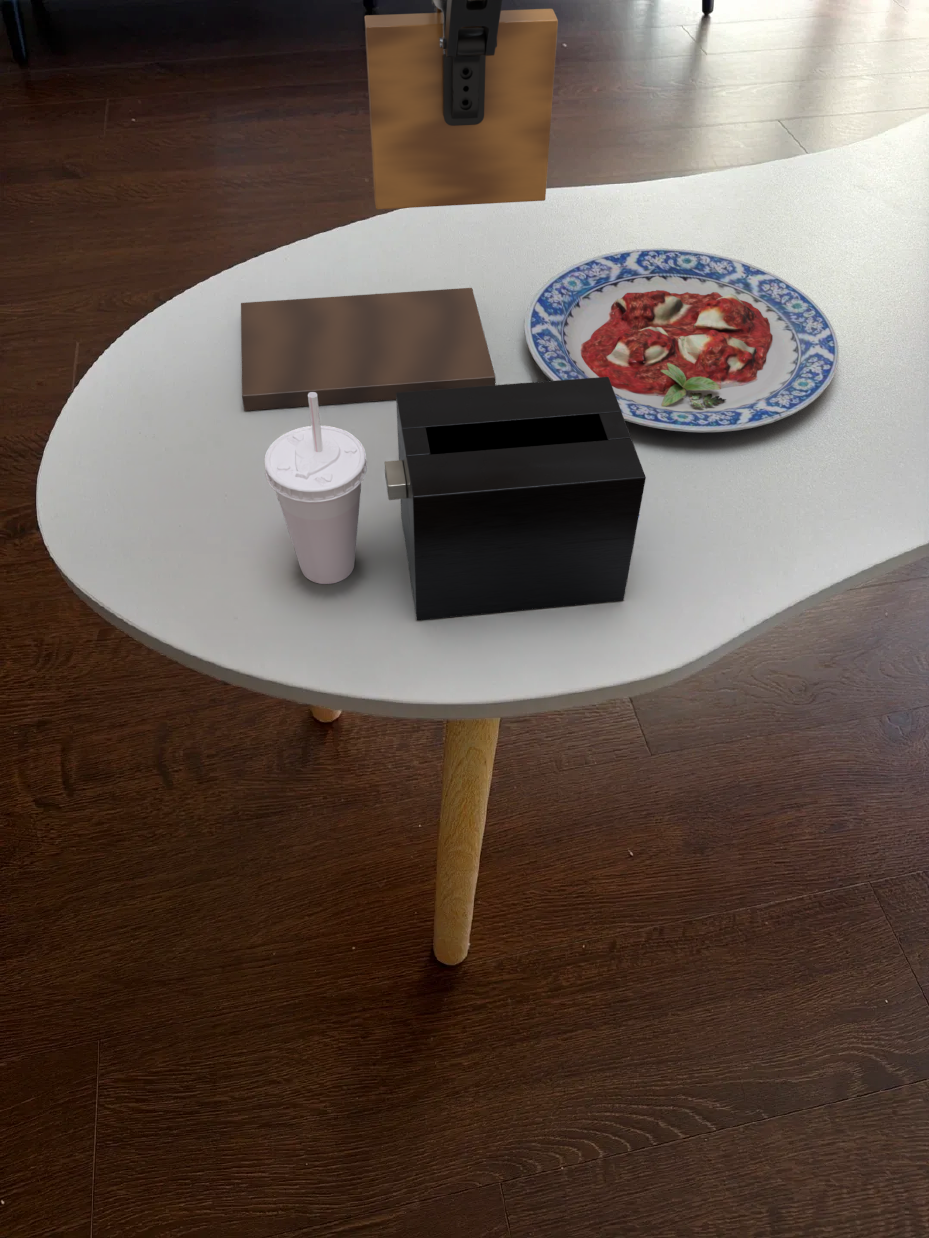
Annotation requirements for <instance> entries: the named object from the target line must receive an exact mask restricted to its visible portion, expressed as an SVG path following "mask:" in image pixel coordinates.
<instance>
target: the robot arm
mask: <svg viewBox="0 0 929 1238" xmlns="http://www.w3.org/2000/svg"><path fill="white" fill-rule="evenodd" d="M502 5H503V0H431V6H434V7H433V8H434V10H433V11H434V12H433V13H441V37H439V48H441V50H442V55H443V116H444V120H445V122H446V123H447V124H448V125H451V126H460V125H477V124H479V123H481V122H482V120H483V118H484V101H485V61H486V56H492V55H494V54H495V48H497V34H498V27H499V20H500V13H501V11H502ZM473 26H478V28H462V27H473Z"/></svg>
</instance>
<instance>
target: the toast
mask: <svg viewBox="0 0 929 1238" xmlns="http://www.w3.org/2000/svg"><path fill="white" fill-rule="evenodd" d="M462 28H478V26H473V27H462ZM558 28H559V20H558V17H557V15H556V13H555V11H554V9H553V8H535V9H534V8H533V9H508V10H507V9H505V10H501V13H500V20H499V27H498V34H497V48H495V54H494V55H492V56H486V61H485V101H484V118H483V120H482V122H481V123H479V124H477V125H460V126H451V125H448V124H447V123H446V122H445V120H444V116H443V55H442V50H441V48H439V37H441V13H434V12H425V13H423V12H421V13H398V14H393V13H392V14H370V15H369V14H367V15H364V31H365V32H364V33H365V51H366V52H365V53H366V69H367V70H366V71H367V72H366V73H367V89H368V106H369V108H368V109H369V110H368V111H369V125H370V126H369V127H370V146H371V162H372V163H371V165H372V182H373V183H372V184H373V196H374V204H375V209H376V210H393V209H395V210H396V209H407V208H408V209H411V208H414V209H415V208H430V207H431V208H432V207H448V206H449V207H450V206H452V207H453V206H468V205H487V204H507V203H509V204H510V203H526V202H528V203H529V202H544V201H546V195H547V184H548V183H547V182H548V167H549V154H550V141H551V124H552V113H553V112H552V111H553V100H554V99H553V98H554V83H555V68H556V57H557V56H556V55H557V41H558Z"/></svg>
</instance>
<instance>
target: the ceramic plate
mask: <svg viewBox="0 0 929 1238" xmlns="http://www.w3.org/2000/svg"><path fill="white" fill-rule="evenodd" d="M524 335H525V336H524V337H525V342H526V345H527V347H528V351H529V353H530V355H531V356H532V358H533V360H534V362H535V363H536V365H537V366H538V368H539V369H540V370H541V371H542V374H544V375H545V376H546V377H547V378H548V379H549V380H550V381H557V380H570V379H583V378H597V377H609V379H610V382H611V385H612V387H613V390H614V393H615V395H616V398H617V401H618V404H619V406H620V409H621V412H622V415H623V417H624V420H625V422H629V423H633V424H637V425H638V426H639V425H640V426H643V427H649V428H653V429H661V430H667V431H675V432H687V433H722V432H725V433H726V432H732V431H733V432H734V431H741V430H747V429H752V428H757V427H761V426H765V425H769V424H773V423H776V422H777V421H778V422H779V421H780V420H782V419H785V418H787V417H790V416H792V415H795V414H796V413H798V412H800V411H801V410H803V409H805V408H806V407H808V406H809V405H810V404H812V403H813V402H815V401H816V400H817V398H819V397H820V396H821V395H822V394H823V393H824V391H825V390H826V388H827V387H828V386H829V385H830V384H831V382H832V380H833V378H834V376H835V374H836V372H837V368H838V365H839V360H840V345H839V341H838V337H837V334H836V332H835V329H834V326H833V325H832V323H831V320H830V319H829V317H828V316H827V315H826V314H825V313H824V312H823V310H822V309H821V308H820V307H819V305H818V304H817V303H816V302H815V301H814V300H813V299H811V297H809V295H807V294H806V293H805V292H803V291H802V290H800V289H799V288H797V287H796V286H794V285H793V284H791V283H790V282H789V281H787V280H785V279H784V278H782V277H781V276H779V275H777V274H775V273H772V272H770V271H768V270H765V269H763V268H761V267H759V266H756V265H753V264H751V263H748V262H745V261H743V260H740V259H736V258H732V257H728V256H724V255H720V254H716V253H710V252H707V251H706V252H705V251H701V250H700V251H699V250H693V249H682V248H667V247H659V248H635V249H628V250H622V251H615V252H609V253H603V254H600V255H598V256H593V257H591V258H588V259H585V260H582V261H580V262H578V263H575V264H573V265H571V266H568V267H566V268H565V269H562V270H561V271H560V272H558V273H557V274H555V275H554V276H552V277H551V278H549V280H547V281H546V282H545V283H543V285H542V286H541V287H540V288H539V289H538V290H537V292H536V293H535V294H534V295H533V297H532V298H531V300H530V302H529V304H528V307H527V310H526V312H525V317H524Z"/></svg>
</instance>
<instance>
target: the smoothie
mask: <svg viewBox="0 0 929 1238" xmlns="http://www.w3.org/2000/svg"><path fill="white" fill-rule="evenodd" d="M308 401H309V406H308V408H309V417H310V425H307V426H301V427H298V428H293V429H292V430H289V431H287V432H285V433H284V434H282V435H280V436H278V437H277V438H275V440H273V442H272V443H270V445H269V447H268V448H267V450H266V452H265V455H264V475H265V478H266V482H267V483H268V484H269V486H270V487H271V489H272V490H273V491H275V495H276V498H277V501H278V502H279V507H280V509H281V512H282V516H283V518H284V521H285V524H286V528H287V530H288V533H289V537H290V540H291V543H292V546H293V548H294V552H295V555H296V559H297V561H298V566H299V567H300V570H301V573H302V574H303V576H304V577H305V578H306V579H308V580H309V581H311V582H313V583H315V584H319V585H332V584H336V583H339V582H341V581H344V580H345V579H347V578H348V577H349V576H350V575H351V574H352V572H353V571H354V568H355V562H356V551H357V550H356V549H357V539H358V537H357V536H358V525H359V515H360V513H359V512H360V503H361V501H360V500H361V493H362V482H363V481H364V480H365V477H366V476H367V475H366V474H367V472H368V461H367V455H366V449H365V447H364V445H363V443H362V442H361V441H360V440H359V439H358V437H356V436H355V435H354V434H352V433H351V432H349V431H347V430H345V429H342V428H340V427H335V426H330V425H321V417H320V410H319V409H320V408H319V405H318V398H317V393H315V392H310V393H309V394H308Z"/></svg>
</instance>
